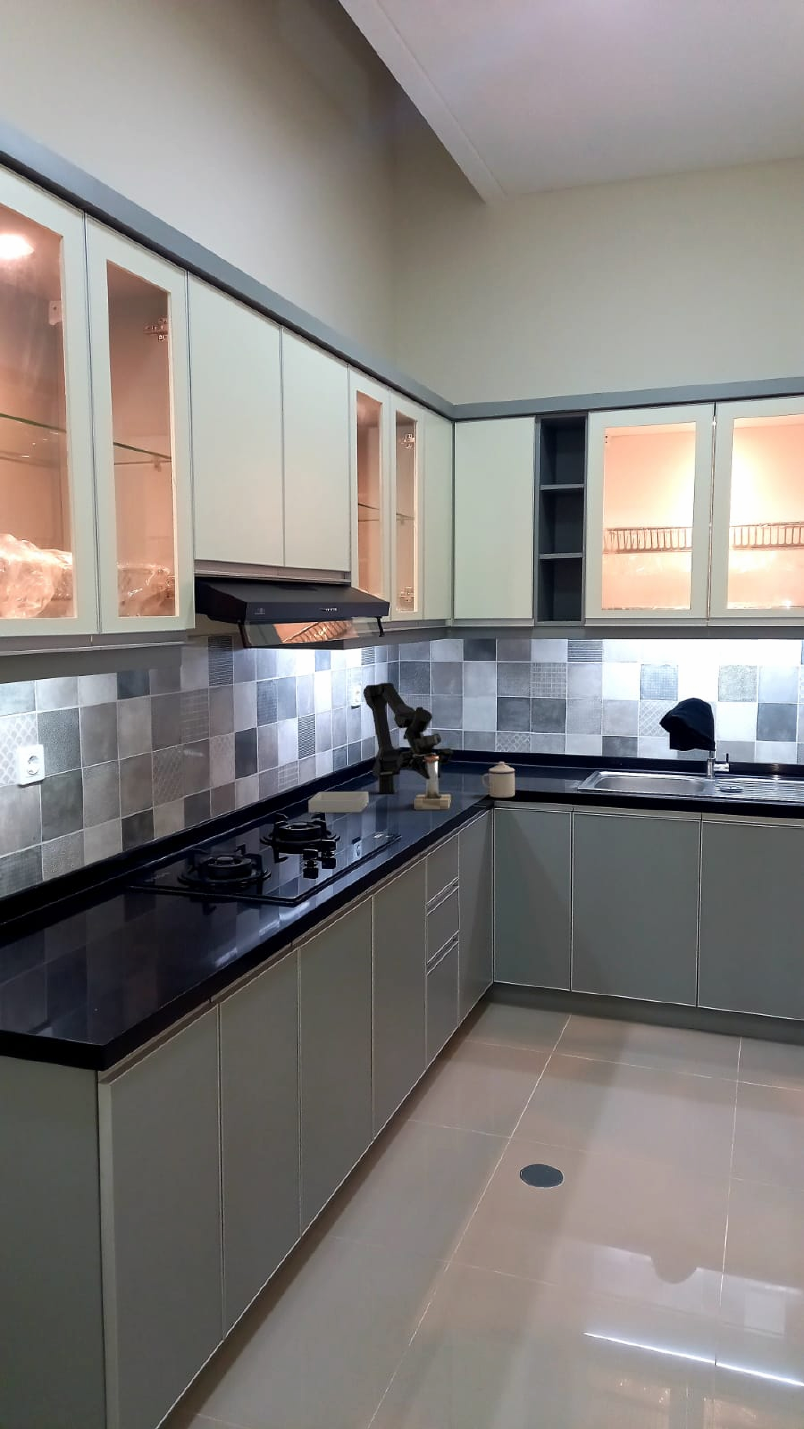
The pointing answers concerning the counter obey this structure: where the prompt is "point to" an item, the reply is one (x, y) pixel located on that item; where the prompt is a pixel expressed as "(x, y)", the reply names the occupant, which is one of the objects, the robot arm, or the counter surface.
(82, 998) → the counter surface
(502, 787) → the teacup with lid
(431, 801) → the block
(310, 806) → the tray
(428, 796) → the metal pin
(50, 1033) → the counter surface
